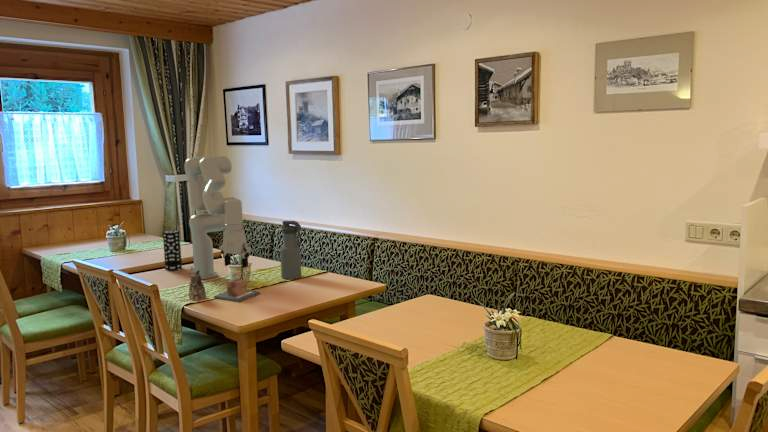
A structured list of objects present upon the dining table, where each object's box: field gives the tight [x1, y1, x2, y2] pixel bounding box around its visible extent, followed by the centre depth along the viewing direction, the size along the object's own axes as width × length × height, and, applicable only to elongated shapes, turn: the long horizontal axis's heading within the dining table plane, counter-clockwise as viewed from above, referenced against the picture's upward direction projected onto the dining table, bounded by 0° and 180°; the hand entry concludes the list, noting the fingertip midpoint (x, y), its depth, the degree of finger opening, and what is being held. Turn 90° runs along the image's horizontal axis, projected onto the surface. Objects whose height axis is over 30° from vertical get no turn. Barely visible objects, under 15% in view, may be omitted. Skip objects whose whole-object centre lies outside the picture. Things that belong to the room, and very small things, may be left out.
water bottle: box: [279, 220, 302, 280], centre depth 295 cm, size 10×10×28 cm
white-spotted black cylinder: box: [162, 229, 183, 272], centre depth 315 cm, size 8×8×20 cm
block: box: [226, 277, 248, 296], centre depth 266 cm, size 6×6×6 cm
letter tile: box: [213, 289, 261, 303], centre depth 266 cm, size 14×14×1 cm
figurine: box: [188, 270, 207, 301], centre depth 263 cm, size 7×7×12 cm
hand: (236, 266), depth 264 cm, fingers open, 9 cm apart
